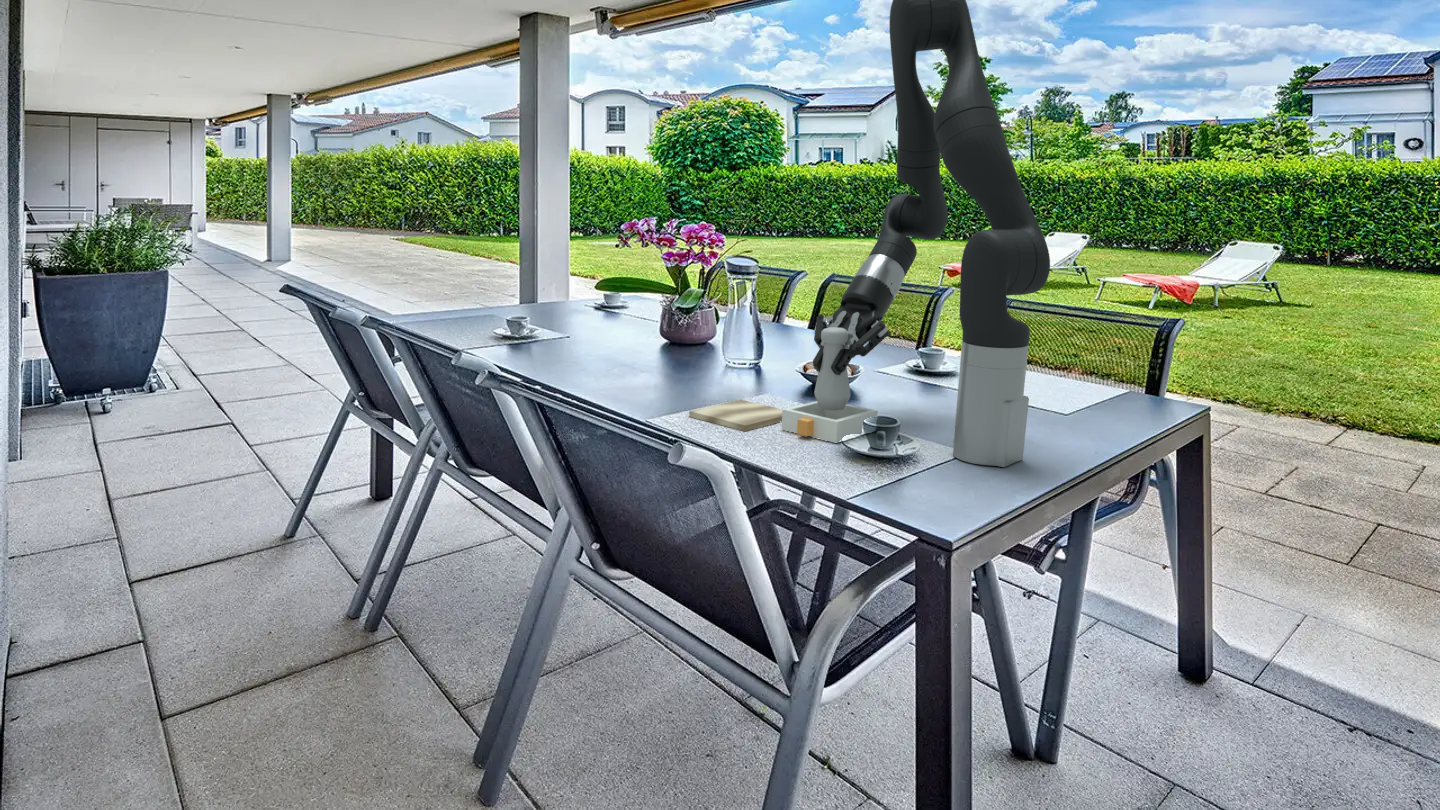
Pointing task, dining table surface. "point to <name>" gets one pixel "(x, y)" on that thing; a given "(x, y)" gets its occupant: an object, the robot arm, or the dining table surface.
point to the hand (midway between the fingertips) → (826, 370)
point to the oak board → (739, 415)
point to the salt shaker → (829, 386)
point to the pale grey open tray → (825, 421)
